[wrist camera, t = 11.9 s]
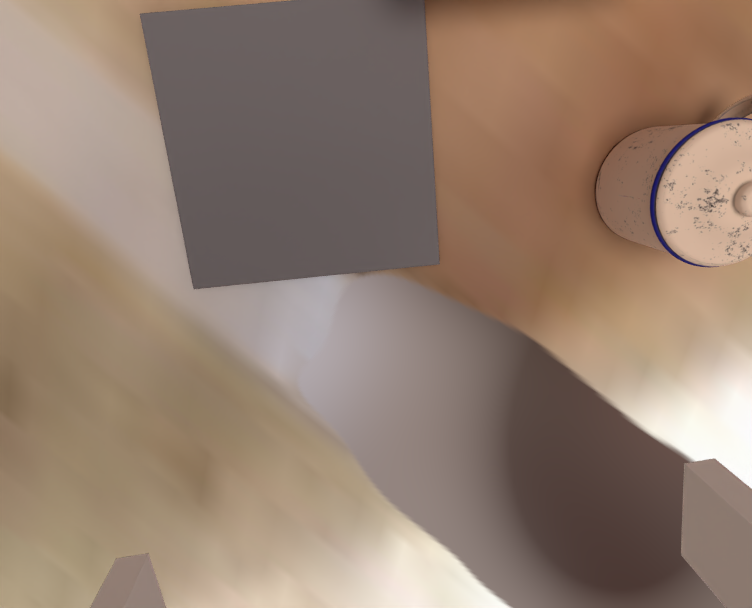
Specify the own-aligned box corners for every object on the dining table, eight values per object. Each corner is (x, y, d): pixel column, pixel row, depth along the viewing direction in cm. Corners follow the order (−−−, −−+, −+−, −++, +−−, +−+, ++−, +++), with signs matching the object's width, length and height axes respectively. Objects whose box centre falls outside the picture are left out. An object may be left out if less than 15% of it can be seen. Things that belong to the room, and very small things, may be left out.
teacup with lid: (651, 265, 43) (758, 307, 32) (566, 201, 41) (649, 221, 30) (757, 137, 41) (914, 133, 29) (672, 62, 39) (805, 28, 27)
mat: (195, 287, 41) (193, 289, 41) (142, 15, 36) (139, 13, 35) (438, 262, 42) (439, 264, 41) (422, -9, 36) (423, -11, 36)
